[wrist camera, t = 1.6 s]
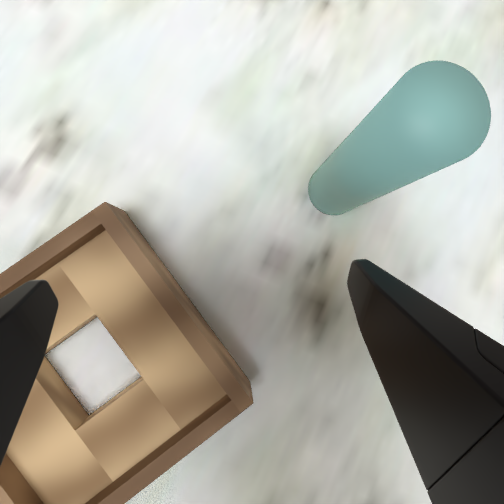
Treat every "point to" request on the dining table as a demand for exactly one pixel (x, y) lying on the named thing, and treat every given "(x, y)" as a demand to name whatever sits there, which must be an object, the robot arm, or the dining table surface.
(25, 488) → the bore box
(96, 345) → the dining table surface
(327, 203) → the peg
